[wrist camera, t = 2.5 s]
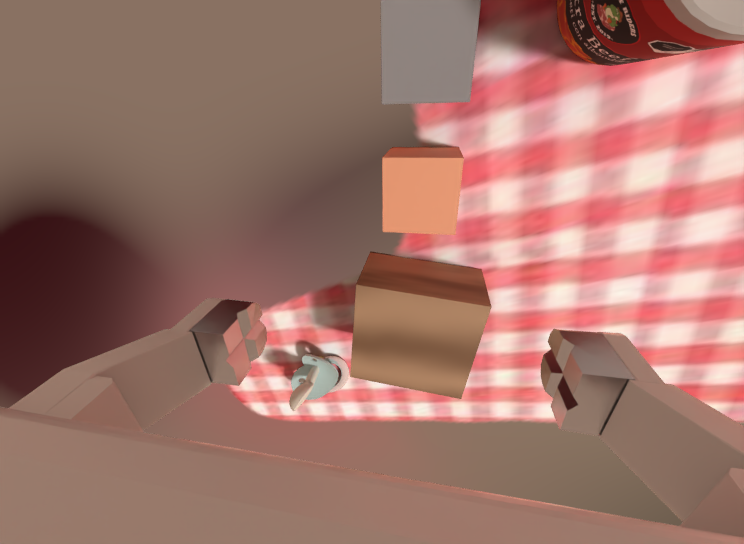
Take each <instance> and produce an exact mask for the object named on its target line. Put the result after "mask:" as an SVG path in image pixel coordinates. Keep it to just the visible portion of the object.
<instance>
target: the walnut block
mask: <svg viewBox="0 0 744 544" xmlns="http://www.w3.org/2000/svg"><path fill="white" fill-rule="evenodd" d="M490 309H491V304H490V300H489V296H488V292H487V288H486V284H485V281H484V277H483V273H482V269H477V268H470V267H464V266H457V265H451V264H444V263H437V262H431V261H424V260H418V259H411V258H405V257H398V256H392V255H391V254H385V253H378V252H370V254H369V256H368V258H367V261H366V263H365V265H364V268H363V270H362V272H361V275H360V277H359V279H358V281H357V284H356V294H355V310H354V326H353V342H352V359H351V375H350V377H354V378H359V379H364V380H369V381H374V382H379V383H384V384H389V385H394V386H399V387H404V388H409V389H414V390H419V391H424V392H429V393H434V394H439V395H444V396H449V397H454V398H459V399H461V397H462V394H463V391H464V388H465V385H466V382H467V379H468V376H469V373H470V370H471V367H472V364H473V361H474V358H475V355H476V352H477V349H478V346H479V343H480V340H481V337H482V334H483V331H484V328H485V325H486V322H487V319H488V315H489V312H490Z"/></svg>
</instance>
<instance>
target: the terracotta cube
mask: <svg viewBox="0 0 744 544" xmlns="http://www.w3.org/2000/svg"><path fill="white" fill-rule="evenodd" d="M463 160H464V157H463V155H462V153H461V151H460V149H459V147H392V148H391V149H390V150H389V151H388V152H387V153H386V154H385V155H384V156H383V157H382V177H383V178H382V184H383V185H382V186H383V187H382V188H383V232H401V233H423V234H445V235H455V232H456V223H457V214H458V205H459V196H460V187H461V178H462V169H463Z"/></svg>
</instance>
